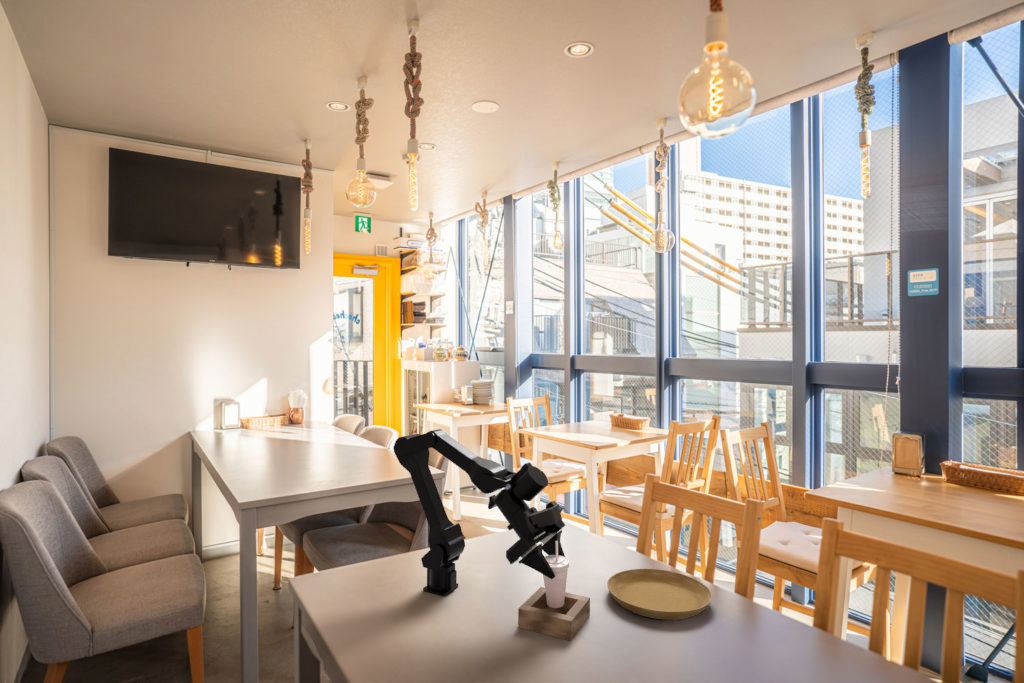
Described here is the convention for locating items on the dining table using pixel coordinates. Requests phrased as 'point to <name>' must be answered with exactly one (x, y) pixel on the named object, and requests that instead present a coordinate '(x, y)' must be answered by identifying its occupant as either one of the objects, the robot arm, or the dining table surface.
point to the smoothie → (556, 579)
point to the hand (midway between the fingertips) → (560, 572)
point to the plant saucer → (659, 593)
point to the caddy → (554, 615)
